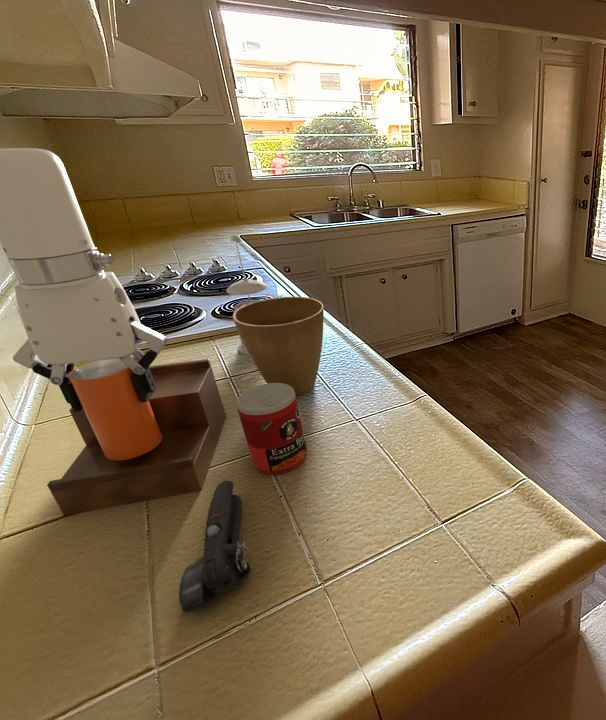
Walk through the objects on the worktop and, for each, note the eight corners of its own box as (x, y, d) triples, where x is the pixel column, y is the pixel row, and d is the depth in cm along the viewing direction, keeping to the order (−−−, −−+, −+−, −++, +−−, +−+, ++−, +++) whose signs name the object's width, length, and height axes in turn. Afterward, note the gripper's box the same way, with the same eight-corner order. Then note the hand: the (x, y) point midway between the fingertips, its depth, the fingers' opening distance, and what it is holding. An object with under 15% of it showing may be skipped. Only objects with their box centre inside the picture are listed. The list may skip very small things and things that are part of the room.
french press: (255, 334, 112) (229, 229, 100) (298, 338, 110) (277, 231, 98) (227, 352, 103) (196, 239, 92) (274, 356, 101) (248, 241, 90)
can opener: (253, 603, 48) (240, 566, 46) (177, 626, 46) (159, 588, 44) (262, 492, 63) (253, 459, 61) (205, 505, 61) (193, 471, 59)
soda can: (96, 464, 60) (57, 384, 55) (115, 435, 66) (82, 360, 60) (153, 455, 62) (122, 376, 56) (168, 427, 67) (140, 353, 62)
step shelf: (63, 515, 60) (24, 445, 54) (119, 432, 76) (93, 372, 71) (201, 490, 64) (177, 422, 59) (226, 416, 80) (209, 358, 75)
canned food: (276, 482, 65) (258, 417, 60) (241, 463, 69) (223, 400, 64) (319, 453, 71) (306, 391, 66) (285, 437, 74) (271, 377, 69)
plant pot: (269, 418, 79) (247, 332, 72) (243, 385, 89) (222, 307, 82) (349, 389, 88) (337, 310, 81) (317, 362, 98) (304, 290, 91)
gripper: (156, 254, 58) (196, 378, 66) (-14, 265, 53) (51, 397, 62) (135, 269, 52) (182, 405, 60) (-60, 284, 47) (19, 429, 55)
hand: (115, 400), depth 60 cm, fingers closed on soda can, 6 cm apart
